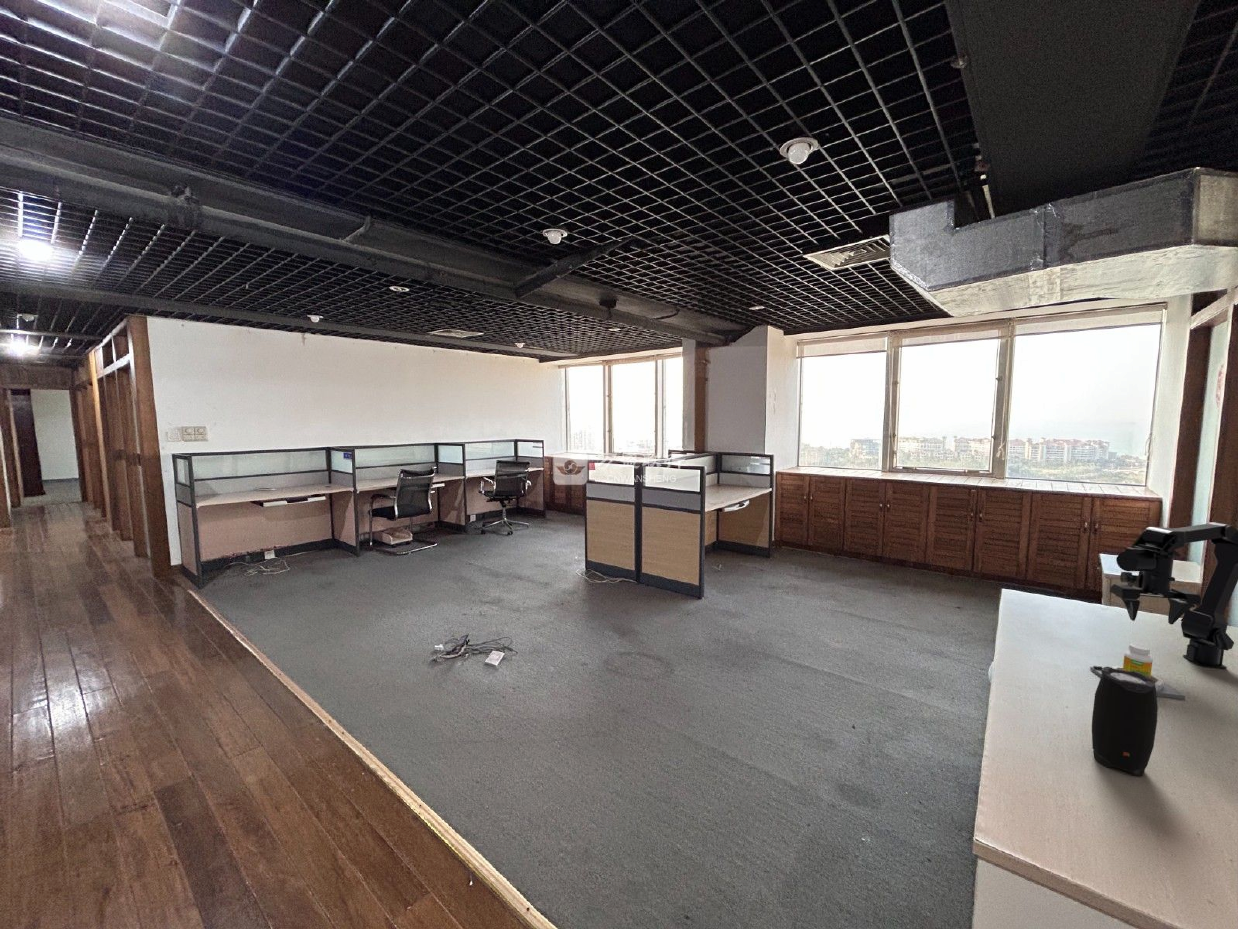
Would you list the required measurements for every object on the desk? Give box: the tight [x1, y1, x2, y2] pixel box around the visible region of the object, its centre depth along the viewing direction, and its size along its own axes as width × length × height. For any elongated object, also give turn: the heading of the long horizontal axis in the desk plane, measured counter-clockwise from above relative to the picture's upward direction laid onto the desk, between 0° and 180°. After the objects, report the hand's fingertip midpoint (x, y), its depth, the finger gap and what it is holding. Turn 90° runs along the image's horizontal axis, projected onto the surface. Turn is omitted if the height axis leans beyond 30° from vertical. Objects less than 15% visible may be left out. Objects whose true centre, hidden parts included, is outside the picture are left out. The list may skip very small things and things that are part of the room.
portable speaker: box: [1091, 666, 1159, 777], centre depth 104 cm, size 9×9×20 cm
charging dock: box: [1089, 665, 1186, 700], centre depth 138 cm, size 14×12×2 cm
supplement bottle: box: [1122, 642, 1154, 677], centre depth 138 cm, size 5×5×10 cm
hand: (1151, 622), depth 148 cm, fingers open, 9 cm apart
